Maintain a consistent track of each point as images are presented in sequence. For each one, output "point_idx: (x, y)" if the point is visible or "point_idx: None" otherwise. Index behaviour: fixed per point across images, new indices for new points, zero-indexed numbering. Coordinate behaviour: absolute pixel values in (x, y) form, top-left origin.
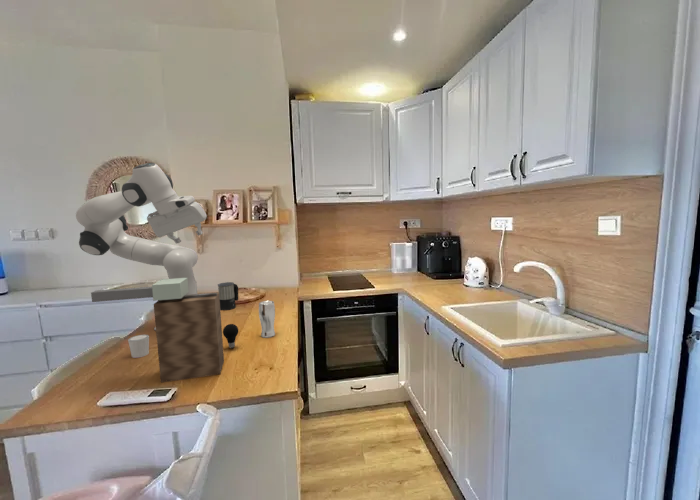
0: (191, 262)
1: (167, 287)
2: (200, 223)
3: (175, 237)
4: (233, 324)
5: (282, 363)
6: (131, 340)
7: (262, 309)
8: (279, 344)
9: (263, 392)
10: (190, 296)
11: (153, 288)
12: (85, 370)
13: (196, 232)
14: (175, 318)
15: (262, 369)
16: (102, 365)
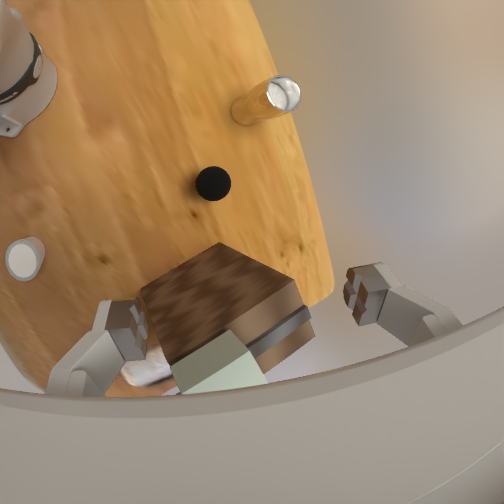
0: (6, 2)
1: None
2: (450, 317)
3: (104, 348)
4: (224, 179)
5: (310, 230)
6: (23, 278)
7: (275, 114)
8: (282, 157)
9: (311, 304)
10: (260, 353)
11: None
12: (8, 326)
13: (359, 320)
14: None
15: (291, 254)
16: (13, 305)
